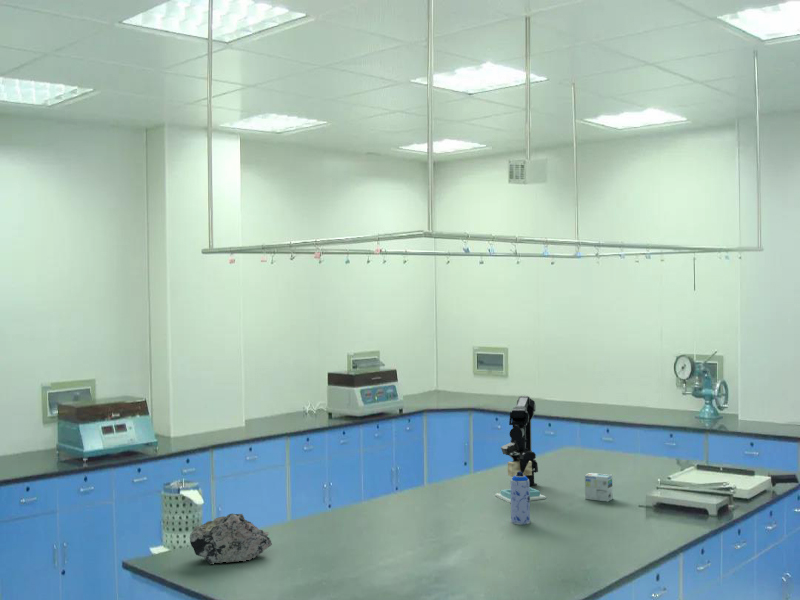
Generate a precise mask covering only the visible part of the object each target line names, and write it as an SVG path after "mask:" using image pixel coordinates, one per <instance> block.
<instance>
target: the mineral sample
mask: <svg viewBox="0 0 800 600" xmlns="http://www.w3.org/2000/svg"><path fill="white" fill-rule="evenodd" d="M269 535H270V533H269V532H266V531H264V530H263V529H259V528H258V527H257V526H256V525H254V524H253V522H251V521H248V520H246V519H245V517H244V514H243V513H238V514H237V513H229V514H227V515H226V516H219V517H216V518H214V520H208V521H206V522H205V523H204V524H200V525H196V526H195V527H194V529H193V530H192V532H191V533H190V536H189V539H190V546H191V547H192V549H193V551H194V554H195V555H196V556H198V557H202V558H204V559H205V560H206V561H207V562H208V564H209V563H210V564H209V565H211V564H213V563H220V564H223V563H222V562H226V563H234V562H239V561H243V562H247V561H246V560H249V561H250V560H253V559H255V558H257V557H258V555H260V554H262V553H263V552H264V551H266V550H267V549H268V548H269V547H271V546H272V545H273V543H272V540H271V537H268V536H269ZM252 558H253V559H252ZM213 565H214V564H213Z"/></svg>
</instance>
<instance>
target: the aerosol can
mask: <svg viewBox="0 0 800 600" xmlns="http://www.w3.org/2000/svg"><path fill="white" fill-rule="evenodd" d="M530 487H531V486H530V482H529V479H528V478H527V477H526V476H525V475H523V472H522V471H519V472H517V475H515V476H513V477H511V479H510V489H511V503H510V517H511V518H510V523H511V524H514V525H521V526H522V525H529V524H531V505H530V504H531V500H530Z"/></svg>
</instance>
